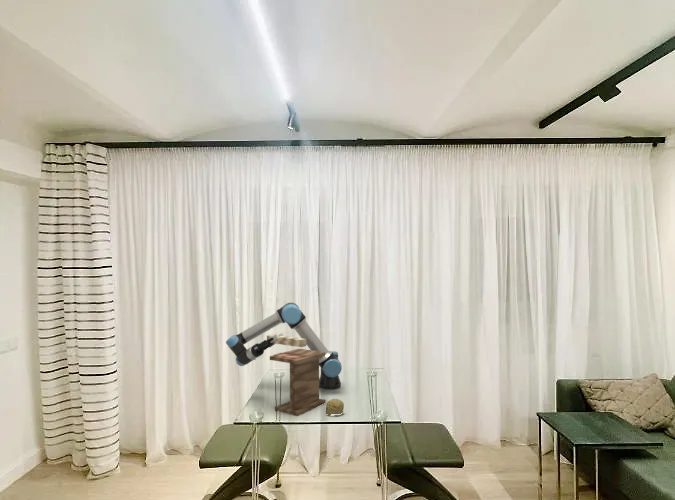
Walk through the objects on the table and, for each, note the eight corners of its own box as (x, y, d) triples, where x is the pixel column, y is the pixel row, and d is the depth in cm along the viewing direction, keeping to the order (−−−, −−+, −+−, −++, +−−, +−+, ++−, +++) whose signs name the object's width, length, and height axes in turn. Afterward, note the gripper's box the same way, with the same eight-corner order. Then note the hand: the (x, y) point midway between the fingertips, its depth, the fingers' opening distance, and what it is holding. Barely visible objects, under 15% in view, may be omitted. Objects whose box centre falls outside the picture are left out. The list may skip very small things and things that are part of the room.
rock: (329, 417, 265) (320, 402, 264) (346, 406, 266) (337, 391, 265) (331, 424, 256) (321, 409, 254) (348, 413, 257) (339, 398, 255)
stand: (269, 409, 268) (269, 355, 268) (298, 397, 289) (298, 347, 290) (297, 416, 257) (297, 360, 257) (325, 403, 278) (325, 351, 278)
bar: (266, 342, 281) (266, 335, 281) (272, 341, 284) (272, 334, 284) (301, 347, 266) (301, 340, 266) (306, 346, 269) (306, 338, 270)
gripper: (267, 354, 295) (292, 339, 284) (247, 359, 281) (272, 343, 269) (263, 343, 297) (287, 327, 286) (242, 348, 283) (267, 331, 271)
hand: (280, 335), depth 278 cm, fingers closed on bar, 4 cm apart
